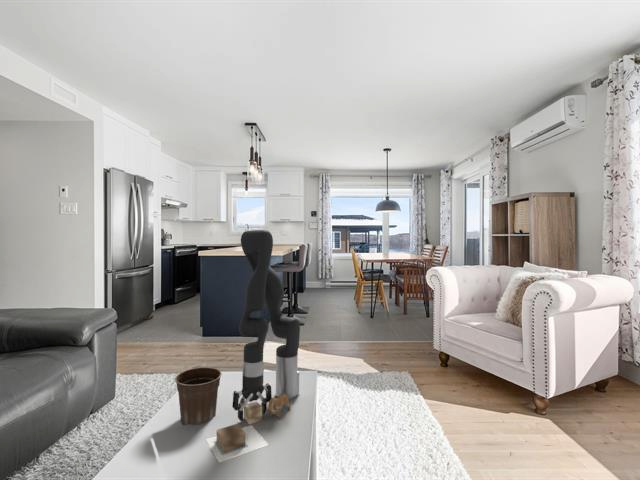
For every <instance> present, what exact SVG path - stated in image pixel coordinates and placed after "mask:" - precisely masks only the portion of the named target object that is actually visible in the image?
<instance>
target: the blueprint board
mask: <svg viewBox="0 0 640 480" xmlns="http://www.w3.org/2000/svg"><path fill="white" fill-rule="evenodd" d="M241 428H242V430H243V431H244V432H245V446H243V447H240V448H237V449H234V450H231V451H228V452H226V453H223V451H222V450H221V448H220V447H219V445H218V443H217V435H216V436H212V437H209V438H205V442H206V443H207V444H208V446H209V448H210V449H211V451H212V453H213V454H214V457H215V459H216V460H217V461H218V463H220V464H221V463H222V462H225V461H228V460H231V459H233V458H236V457H239V456H242V455H245V454H247V453H251V452H253V451H256V450H259V449H261V448H264V447H267V446H270V445H269V443H268V442H267V441H266V440H265V439H264V438H263V436H262V435H261V434H260V433H259V432H258V431H257V430H256V429H255V427H254V426H253V425H252V424H249V425H248V426H244V427H241Z"/></svg>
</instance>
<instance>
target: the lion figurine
mask: <svg viewBox="0 0 640 480" xmlns="http://www.w3.org/2000/svg"><path fill="white" fill-rule="evenodd" d="M284 404H285V407H287V409H286V410H287V411H291V403H290V402H289V399H288V397H287V395H285V394H283V395H280V396H279V398H278V397H277V398H276V397H272V398H271V399H270V401H269V402H268V403H267V409H268V412H269V414H270V417H273V416H274V415H275V414H276V418H277V419H278V420H281V419H280V413H281V411H282V409H283V405H284Z"/></svg>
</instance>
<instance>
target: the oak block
mask: <svg viewBox="0 0 640 480" xmlns="http://www.w3.org/2000/svg"><path fill="white" fill-rule="evenodd" d="M243 420H245V422H246V423H247V424H248V425H252V424H254V423H258V422H261V421H262V420H263V414H262V406H261V404H260V403H259V402H258V400H256V401H252V402H248V403H247V405H246V406H245V407H244V408H243Z"/></svg>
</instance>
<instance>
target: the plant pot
mask: <svg viewBox="0 0 640 480" xmlns="http://www.w3.org/2000/svg"><path fill="white" fill-rule="evenodd" d="M222 375H223V374H222V371H221V370H220V369H219V368H218V369H217V368H215V367H201V366H200V367H194V368H190V369H186V370H183V371H182V372H180V373H178V374H177V375H176V376H175V378H174V381H175V383H176V389H177V392H178V393H177V394H178V402H179V403H178V404H179V413H180V422H181V424H182V425H184V426H186V425H190V426H192V425H193V426H194V425H195V426H196V425H202V424H205V423H207V422H208V423H209V421H211V420H213V419H214V418H215V417H216V414H217V404H218V394H219V386H220V380H221V377H222Z"/></svg>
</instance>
